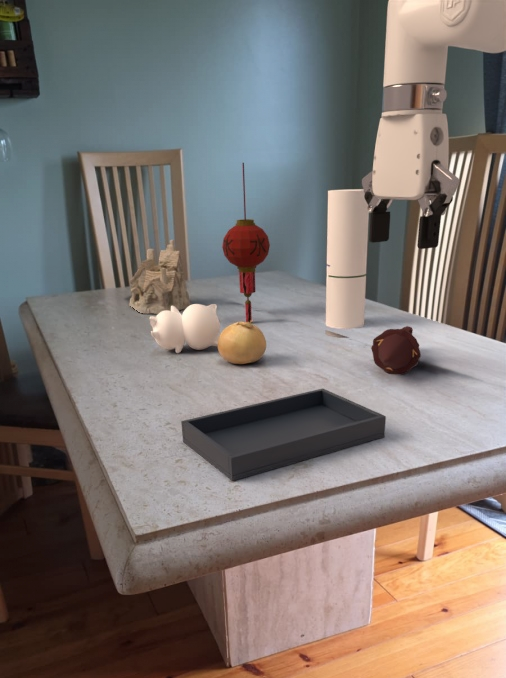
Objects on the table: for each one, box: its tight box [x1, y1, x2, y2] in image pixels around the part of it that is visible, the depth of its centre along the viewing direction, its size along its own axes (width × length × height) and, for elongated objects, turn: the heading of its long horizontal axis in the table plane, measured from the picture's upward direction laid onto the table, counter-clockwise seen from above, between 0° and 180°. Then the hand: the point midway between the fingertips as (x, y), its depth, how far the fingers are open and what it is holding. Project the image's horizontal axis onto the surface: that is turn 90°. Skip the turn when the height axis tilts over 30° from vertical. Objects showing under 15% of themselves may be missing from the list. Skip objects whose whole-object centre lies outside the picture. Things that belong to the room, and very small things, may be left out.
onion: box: [217, 319, 267, 365], centre depth 101 cm, size 8×8×7 cm
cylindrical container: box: [325, 188, 370, 339], centre depth 113 cm, size 7×7×25 cm
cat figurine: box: [149, 303, 221, 354], centre depth 110 cm, size 9×11×12 cm
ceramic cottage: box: [128, 239, 191, 315], centre depth 143 cm, size 16×16×15 cm
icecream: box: [370, 325, 422, 375], centre depth 93 cm, size 7×7×15 cm
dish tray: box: [180, 387, 387, 482], centre depth 72 cm, size 12×20×3 cm, turn 120°
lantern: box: [221, 162, 271, 324], centre depth 122 cm, size 10×10×30 cm
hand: (402, 244), depth 86 cm, fingers open, 9 cm apart
